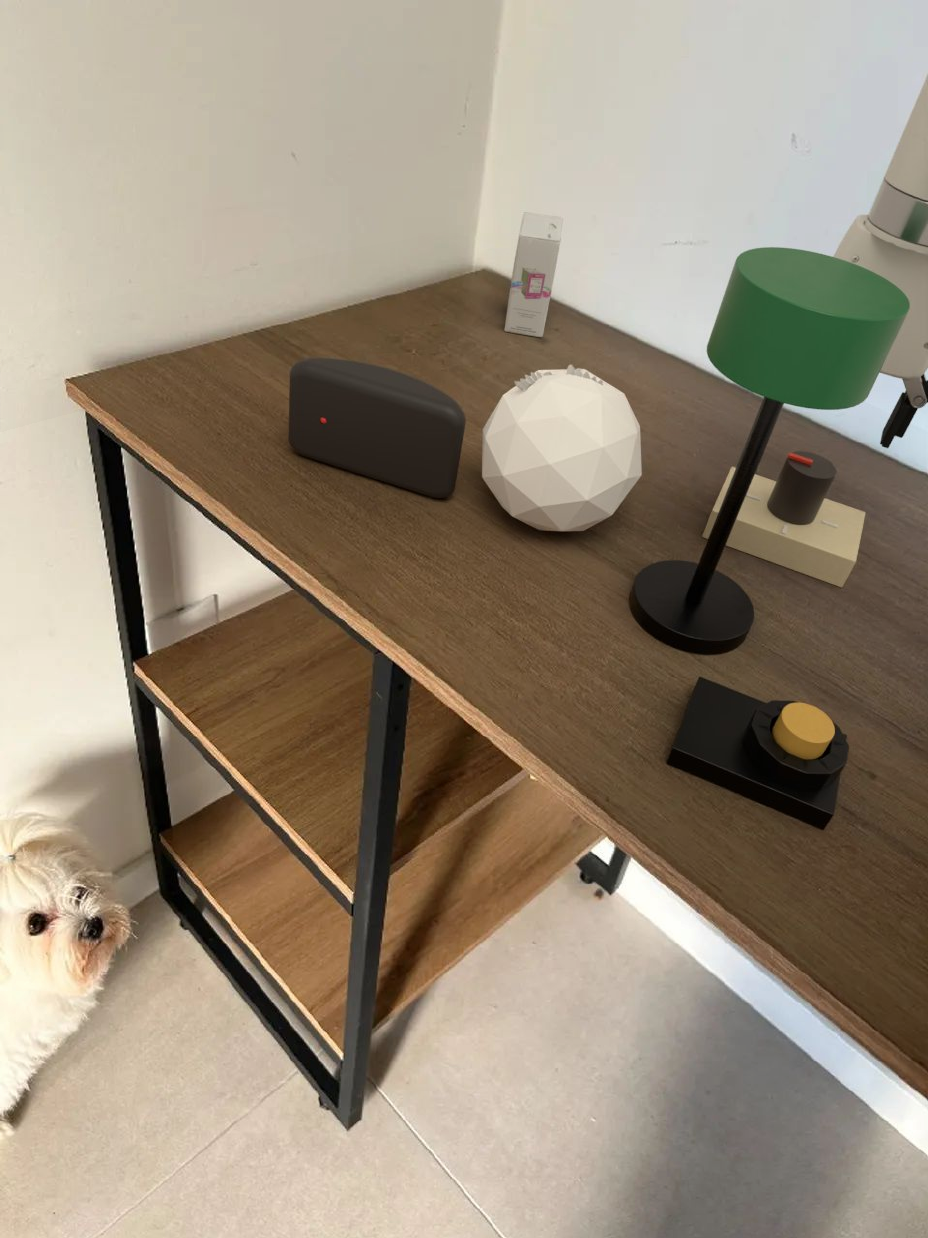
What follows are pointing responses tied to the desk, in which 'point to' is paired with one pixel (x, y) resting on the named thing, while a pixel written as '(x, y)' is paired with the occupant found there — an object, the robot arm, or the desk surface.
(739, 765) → the button base
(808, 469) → the dimmer knob
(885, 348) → the desk lamp
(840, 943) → the desk surface
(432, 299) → the desk surface
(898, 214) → the robot arm
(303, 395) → the dark grey speaker
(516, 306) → the ink box
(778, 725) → the button
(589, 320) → the desk surface
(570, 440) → the geodesic sphere
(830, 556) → the dimmer panel
